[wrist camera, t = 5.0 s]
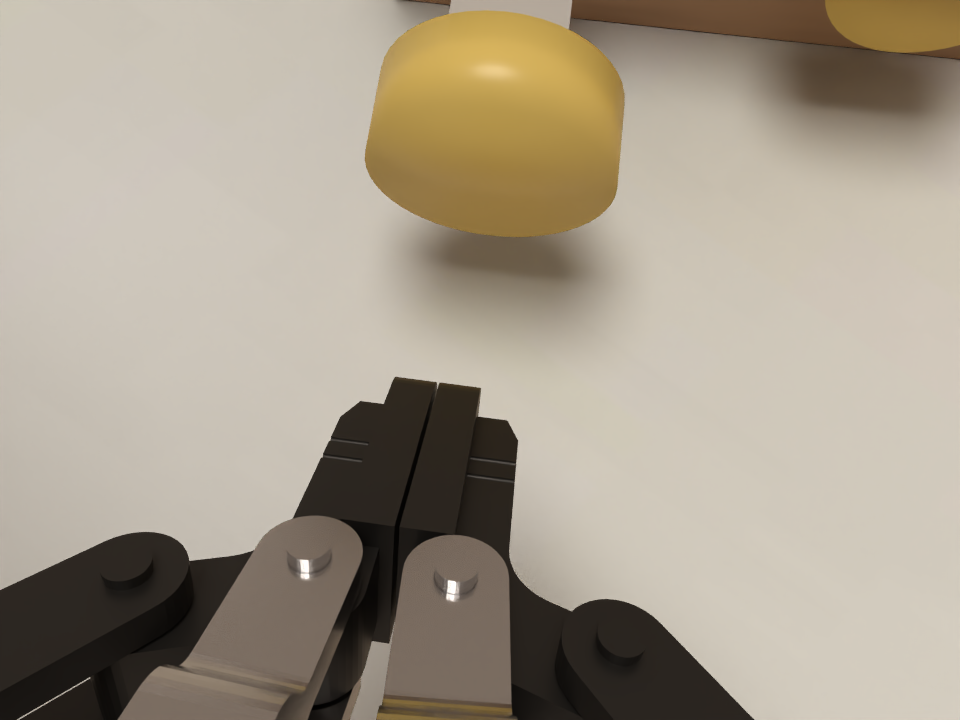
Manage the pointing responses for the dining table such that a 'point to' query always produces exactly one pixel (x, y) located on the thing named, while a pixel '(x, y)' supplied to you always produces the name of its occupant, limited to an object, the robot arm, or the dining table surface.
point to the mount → (798, 20)
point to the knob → (498, 121)
